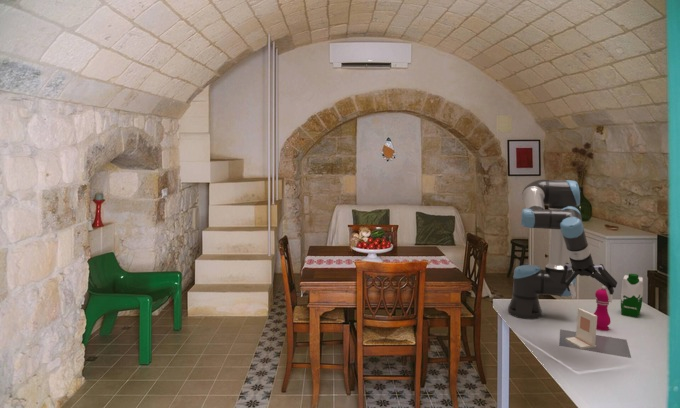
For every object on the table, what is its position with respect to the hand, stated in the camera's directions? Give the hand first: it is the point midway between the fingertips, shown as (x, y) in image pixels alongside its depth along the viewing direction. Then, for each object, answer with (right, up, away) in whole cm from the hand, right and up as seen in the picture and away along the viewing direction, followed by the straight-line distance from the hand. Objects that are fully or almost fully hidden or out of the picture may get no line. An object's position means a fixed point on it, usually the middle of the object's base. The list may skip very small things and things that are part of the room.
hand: (592, 298), depth 191 cm
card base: (-3, -19, +4) cm, 20 cm away
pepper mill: (+15, -18, +21) cm, 32 cm away
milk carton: (+40, -16, +41) cm, 60 cm away
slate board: (+3, -20, +5) cm, 21 cm away
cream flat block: (0, -18, +5) cm, 19 cm away
